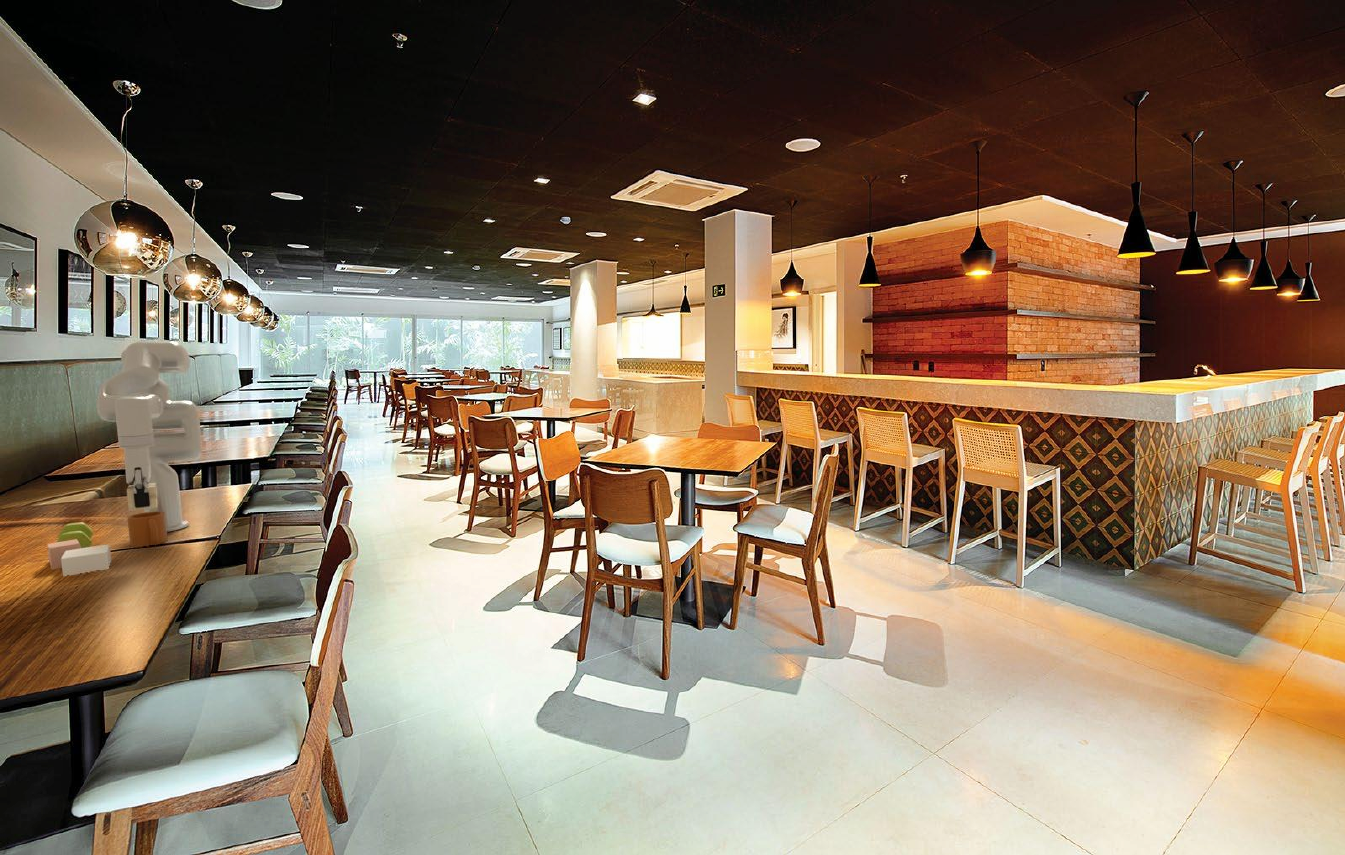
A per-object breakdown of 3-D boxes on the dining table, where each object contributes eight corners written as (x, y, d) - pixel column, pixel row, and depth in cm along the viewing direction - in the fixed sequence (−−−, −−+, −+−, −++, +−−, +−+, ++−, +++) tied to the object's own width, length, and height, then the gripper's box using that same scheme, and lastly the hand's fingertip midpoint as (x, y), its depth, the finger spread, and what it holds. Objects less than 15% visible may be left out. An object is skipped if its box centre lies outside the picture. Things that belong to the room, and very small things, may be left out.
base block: (67, 568, 174) (65, 550, 173) (111, 561, 179) (109, 544, 179) (63, 577, 167) (61, 558, 166) (108, 570, 172) (106, 552, 172)
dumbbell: (92, 555, 185) (89, 530, 184) (54, 561, 180) (51, 536, 179) (95, 542, 198) (92, 519, 197) (60, 547, 192) (57, 524, 192)
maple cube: (131, 506, 180) (128, 485, 179) (158, 503, 184) (155, 482, 183) (129, 510, 175) (126, 489, 174) (156, 507, 179) (154, 486, 178)
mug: (130, 552, 187) (126, 522, 186) (130, 543, 196) (126, 514, 195) (169, 545, 193) (165, 516, 192) (167, 537, 202) (163, 509, 201)
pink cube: (50, 565, 176) (47, 544, 176) (79, 559, 181) (76, 539, 180) (52, 569, 172) (49, 548, 172) (82, 564, 177) (79, 543, 176)
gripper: (122, 438, 182) (129, 500, 184) (115, 446, 168) (123, 513, 170) (155, 436, 186) (162, 496, 188) (151, 444, 172) (158, 508, 175)
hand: (143, 503), depth 179 cm, fingers closed on maple cube, 6 cm apart
